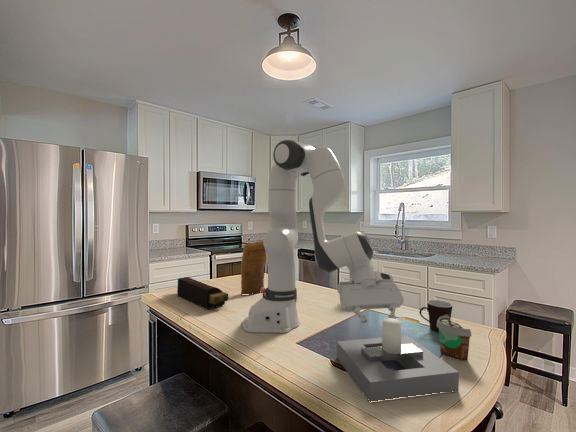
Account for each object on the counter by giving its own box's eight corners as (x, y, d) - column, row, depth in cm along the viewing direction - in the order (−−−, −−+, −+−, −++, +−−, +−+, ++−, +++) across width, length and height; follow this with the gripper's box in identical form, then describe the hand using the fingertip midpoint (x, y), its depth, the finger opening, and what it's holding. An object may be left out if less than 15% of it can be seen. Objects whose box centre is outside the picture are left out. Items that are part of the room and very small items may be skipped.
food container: (428, 344, 101) (428, 315, 100) (445, 344, 101) (446, 315, 101) (451, 363, 88) (452, 330, 88) (470, 363, 89) (471, 329, 89)
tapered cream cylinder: (388, 354, 80) (388, 325, 80) (378, 346, 85) (378, 318, 85) (404, 353, 81) (405, 323, 81) (394, 344, 86) (394, 317, 86)
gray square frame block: (370, 403, 70) (370, 382, 70) (336, 357, 92) (336, 341, 92) (458, 391, 75) (458, 371, 75) (407, 350, 96) (407, 335, 96)
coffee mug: (449, 326, 116) (450, 301, 116) (454, 335, 108) (454, 308, 108) (417, 322, 120) (417, 298, 120) (419, 331, 112) (419, 304, 112)
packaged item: (230, 308, 137) (230, 286, 137) (211, 313, 130) (211, 290, 130) (190, 291, 165) (190, 273, 165) (173, 294, 158) (173, 276, 158)
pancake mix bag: (271, 290, 166) (271, 240, 165) (244, 298, 152) (244, 243, 152) (263, 288, 171) (263, 239, 170) (236, 295, 157) (236, 242, 156)
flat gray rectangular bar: (369, 362, 79) (369, 356, 79) (361, 353, 84) (361, 348, 84) (423, 356, 82) (423, 351, 82) (412, 348, 87) (412, 343, 87)
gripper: (337, 276, 95) (349, 318, 85) (396, 275, 99) (413, 314, 89) (332, 287, 99) (343, 327, 90) (389, 285, 103) (404, 323, 94)
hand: (378, 321), depth 90 cm, fingers open, 8 cm apart
